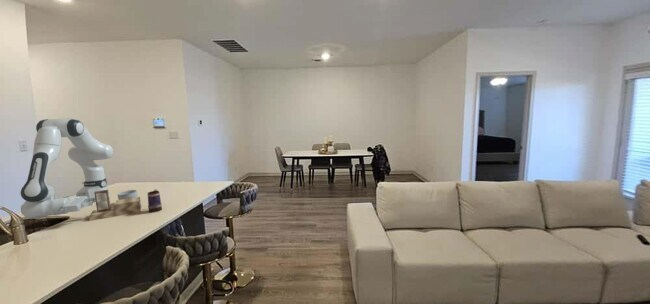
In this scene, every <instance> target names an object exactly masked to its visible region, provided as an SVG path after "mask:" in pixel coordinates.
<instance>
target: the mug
mask: <svg viewBox="0 0 650 304" xmlns="http://www.w3.org/2000/svg"><path fill="white" fill-rule="evenodd" d="M147 204H148V205H147V207H148V212H149V213H158V212H160V211H162V209H163V207H162V201H161V194H160V191H159V190H158V189H154V190H151V191H149V192H147Z"/></svg>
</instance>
